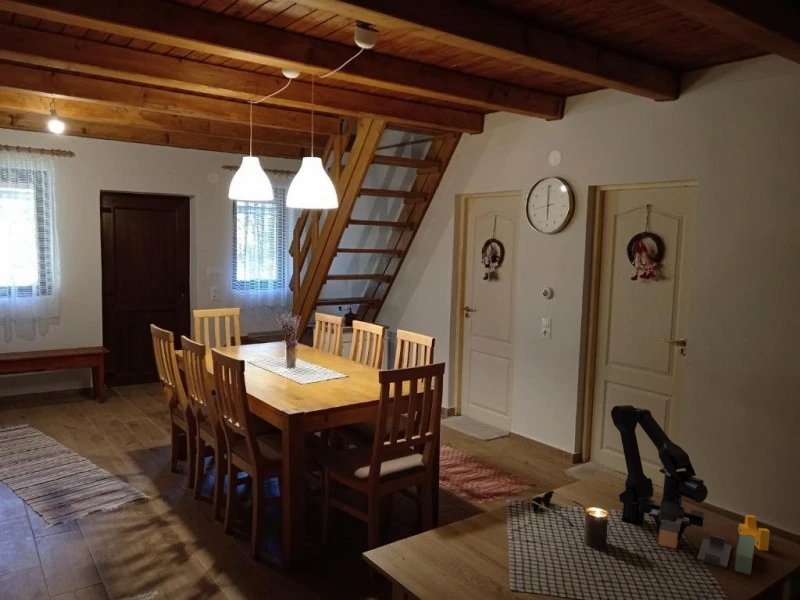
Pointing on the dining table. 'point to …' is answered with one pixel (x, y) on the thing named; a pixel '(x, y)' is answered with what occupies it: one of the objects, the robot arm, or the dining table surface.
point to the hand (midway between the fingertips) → (669, 537)
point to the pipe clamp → (755, 532)
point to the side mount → (715, 551)
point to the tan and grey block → (669, 533)
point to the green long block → (744, 554)
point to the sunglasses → (546, 500)
